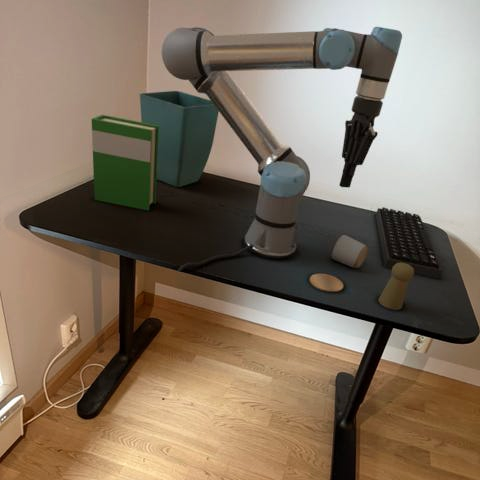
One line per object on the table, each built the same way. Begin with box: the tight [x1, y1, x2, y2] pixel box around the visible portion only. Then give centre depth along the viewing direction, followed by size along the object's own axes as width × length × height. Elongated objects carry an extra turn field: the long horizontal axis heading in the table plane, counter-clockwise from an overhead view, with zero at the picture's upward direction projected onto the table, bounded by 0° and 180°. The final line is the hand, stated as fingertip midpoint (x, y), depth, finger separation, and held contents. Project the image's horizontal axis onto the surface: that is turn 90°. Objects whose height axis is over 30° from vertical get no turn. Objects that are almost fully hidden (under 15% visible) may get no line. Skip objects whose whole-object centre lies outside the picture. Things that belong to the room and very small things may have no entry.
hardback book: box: [91, 114, 159, 211], centre depth 139 cm, size 18×7×24 cm, turn 81°
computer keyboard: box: [375, 206, 443, 280], centre depth 150 cm, size 45×16×4 cm, turn 169°
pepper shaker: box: [378, 263, 415, 311], centre depth 113 cm, size 6×6×11 cm
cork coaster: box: [309, 273, 344, 293], centre depth 119 cm, size 9×9×1 cm
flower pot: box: [139, 90, 220, 188], centre depth 161 cm, size 20×20×28 cm
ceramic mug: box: [331, 234, 369, 269], centre depth 130 cm, size 11×8×8 cm
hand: (344, 186), depth 131 cm, fingers closed
